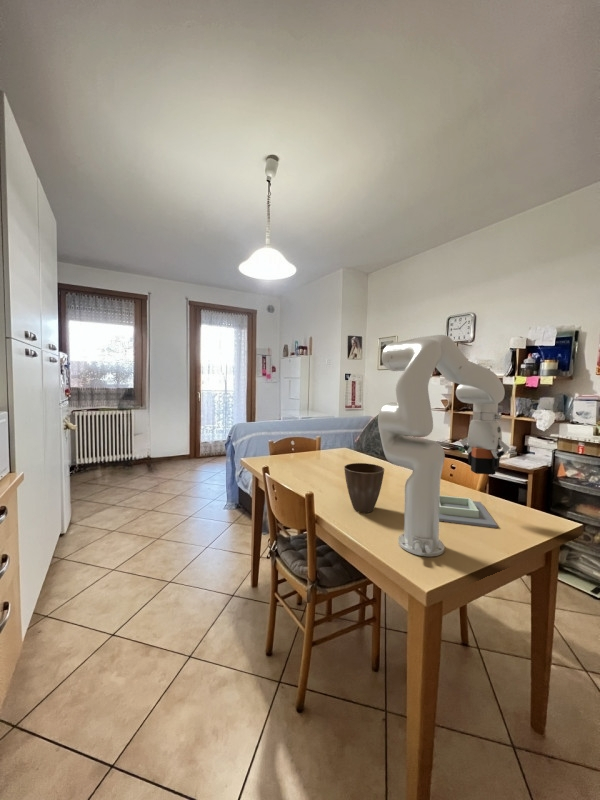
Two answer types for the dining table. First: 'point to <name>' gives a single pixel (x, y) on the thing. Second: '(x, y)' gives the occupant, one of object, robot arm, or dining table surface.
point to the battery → (481, 461)
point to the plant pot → (363, 485)
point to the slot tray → (464, 512)
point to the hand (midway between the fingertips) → (482, 466)
